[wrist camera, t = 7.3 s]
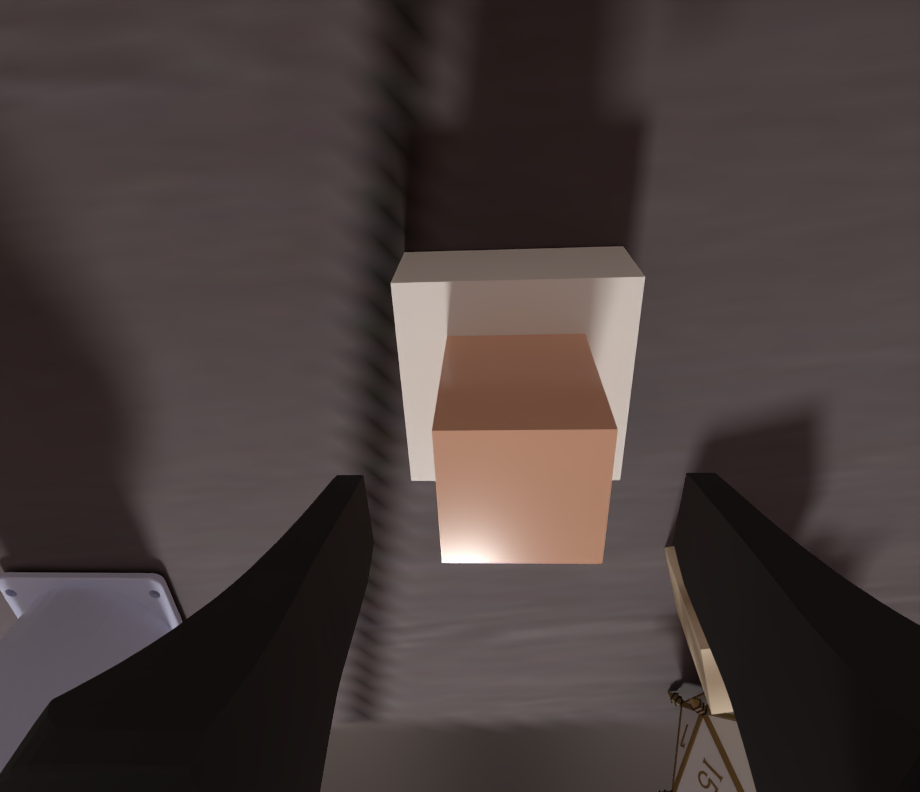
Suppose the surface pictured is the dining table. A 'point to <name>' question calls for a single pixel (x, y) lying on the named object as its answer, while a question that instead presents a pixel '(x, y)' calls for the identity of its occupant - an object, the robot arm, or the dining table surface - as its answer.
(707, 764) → the game die
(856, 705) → the robot arm
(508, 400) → the terracotta block
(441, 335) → the slab
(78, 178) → the dining table surface
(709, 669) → the maple block
